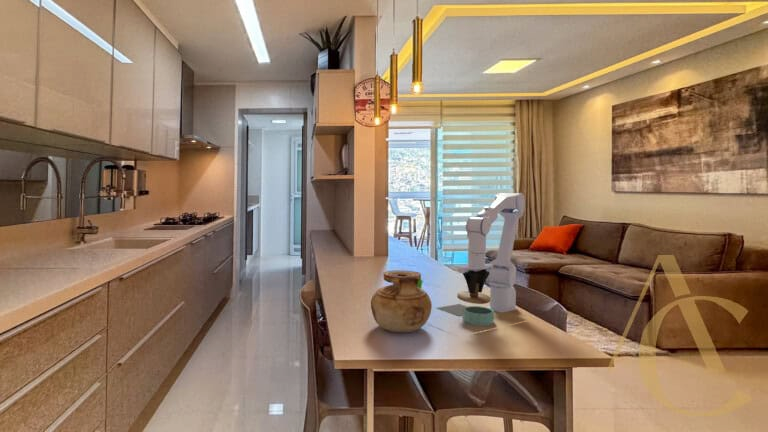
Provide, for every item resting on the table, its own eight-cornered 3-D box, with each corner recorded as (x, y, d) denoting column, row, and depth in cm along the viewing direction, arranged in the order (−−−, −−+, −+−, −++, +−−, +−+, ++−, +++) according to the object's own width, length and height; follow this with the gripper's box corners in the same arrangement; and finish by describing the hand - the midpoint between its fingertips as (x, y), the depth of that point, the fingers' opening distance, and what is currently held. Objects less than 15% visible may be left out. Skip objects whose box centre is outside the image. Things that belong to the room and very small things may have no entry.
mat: (459, 304, 160) (459, 303, 160) (482, 312, 150) (482, 311, 150) (435, 309, 153) (435, 307, 153) (458, 317, 143) (458, 316, 143)
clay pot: (354, 314, 134) (378, 256, 136) (402, 330, 141) (423, 275, 143) (377, 332, 116) (403, 265, 118) (430, 349, 123) (454, 286, 125)
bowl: (477, 316, 145) (477, 304, 145) (499, 323, 137) (500, 311, 137) (456, 320, 140) (456, 308, 140) (478, 328, 132) (479, 316, 131)
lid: (473, 292, 148) (475, 278, 148) (497, 301, 139) (498, 286, 139) (450, 295, 143) (451, 280, 142) (473, 305, 133) (474, 289, 133)
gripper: (483, 250, 147) (481, 287, 148) (452, 252, 139) (451, 292, 140) (498, 252, 141) (496, 292, 142) (467, 254, 133) (466, 296, 134)
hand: (475, 292), depth 140 cm, fingers closed on lid, 3 cm apart
